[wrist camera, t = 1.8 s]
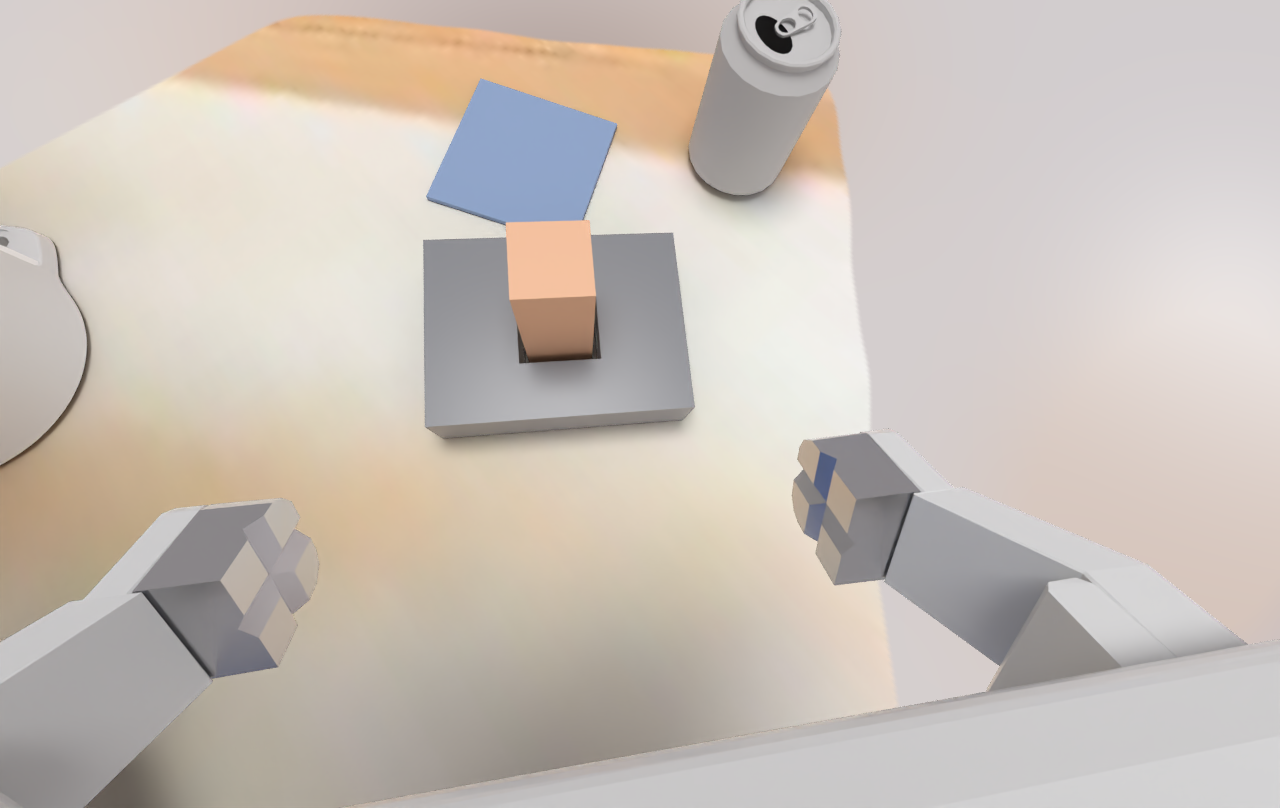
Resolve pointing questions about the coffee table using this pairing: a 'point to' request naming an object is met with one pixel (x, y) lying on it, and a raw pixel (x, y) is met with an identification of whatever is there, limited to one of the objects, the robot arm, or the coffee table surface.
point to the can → (762, 90)
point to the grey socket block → (560, 390)
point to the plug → (552, 288)
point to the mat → (522, 158)
